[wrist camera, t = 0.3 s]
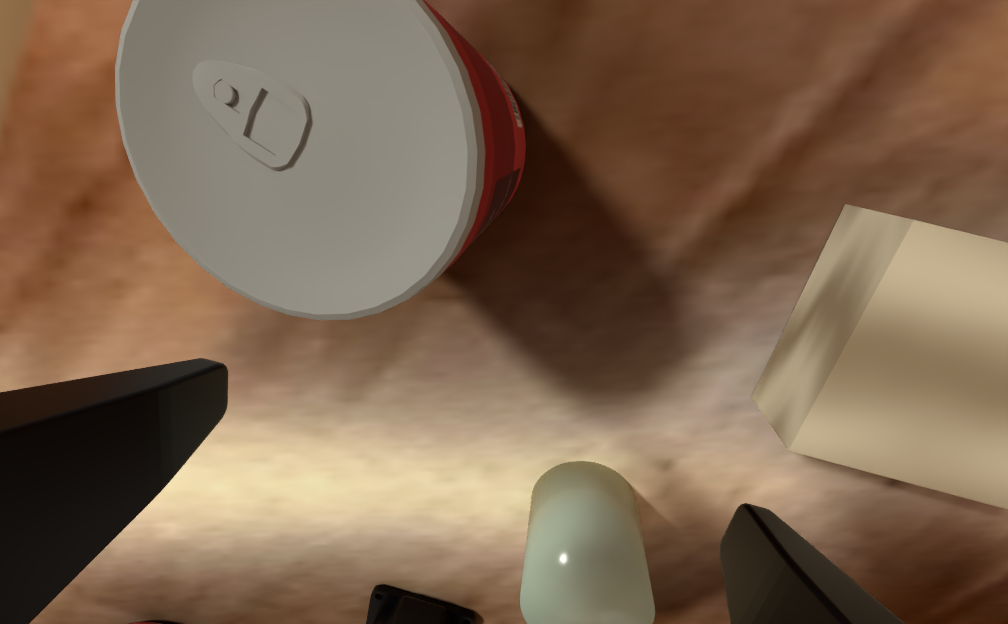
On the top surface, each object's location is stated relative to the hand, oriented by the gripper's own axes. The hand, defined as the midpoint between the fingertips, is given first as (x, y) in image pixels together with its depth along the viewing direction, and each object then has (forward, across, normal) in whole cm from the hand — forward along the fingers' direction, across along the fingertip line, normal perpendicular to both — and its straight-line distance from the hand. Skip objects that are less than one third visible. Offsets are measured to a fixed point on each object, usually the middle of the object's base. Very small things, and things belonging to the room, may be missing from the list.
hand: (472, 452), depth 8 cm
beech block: (+14, -16, -1) cm, 21 cm away
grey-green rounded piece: (+14, -6, +12) cm, 19 cm away
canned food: (+14, +5, -4) cm, 15 cm away
